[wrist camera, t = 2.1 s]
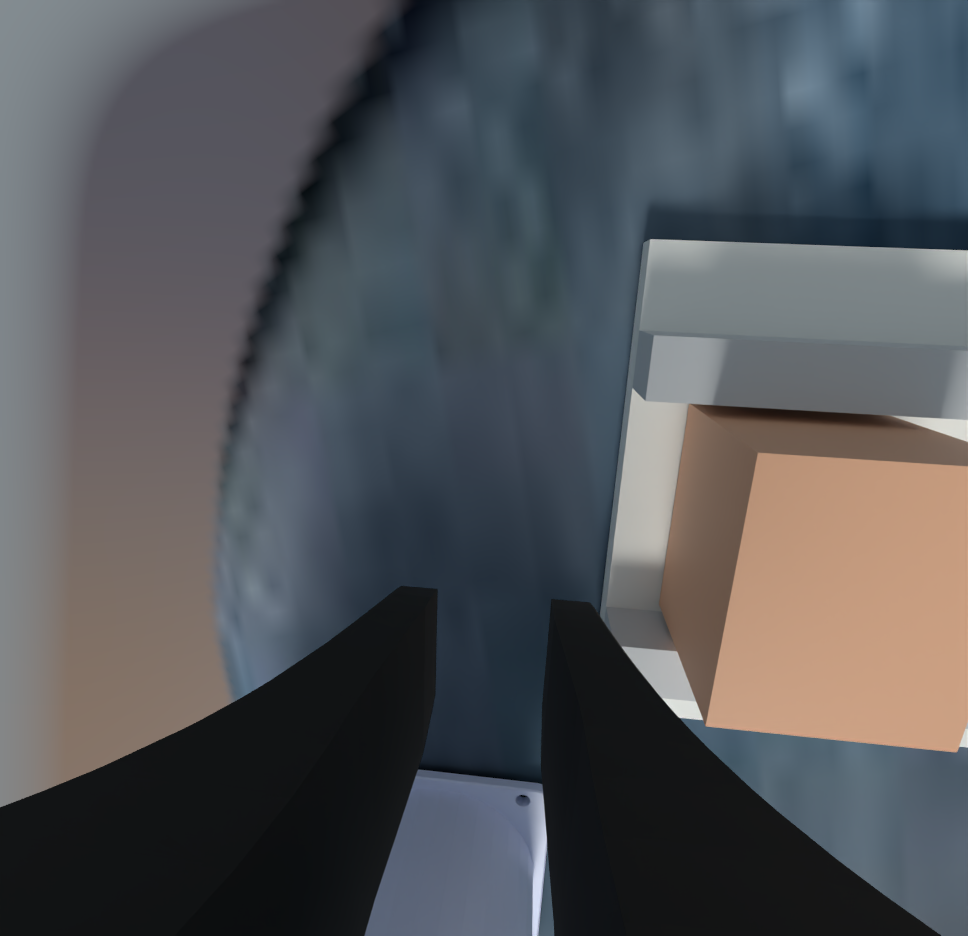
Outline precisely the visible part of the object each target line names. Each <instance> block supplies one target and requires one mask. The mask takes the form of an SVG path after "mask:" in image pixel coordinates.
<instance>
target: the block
mask: <svg viewBox="0 0 968 936" xmlns="http://www.w3.org/2000/svg"><path fill="white" fill-rule="evenodd" d="M659 605H660V608H661V611H662V613H663V616H664V619H665V621H666V624H667V626H668V629H669V632H670V634H671V637H672V640H673V642H674V645H675V647H676V650H677V653H678V655H679V658H680V661H681V663H682V666H683V668H684V671H685V674H686V676H687V679H688V682H689V684H690V687H691V689H692V692H693V695H694V697H695V700H696V703H697V705H698V708H699V710H700V713H701V716H702V718H703V721H704V724H705V726H708V727H717V728H727V729H736V730H746V731H756V732H765V733H775V734H784V735H794V736H804V737H813V738H823V739H832V740H842V741H852V742H861V743H871V744H880V745H890V746H900V747H909V748H919V749H929V750H938V751H948V752H957V751H958V748H959V745H960V743H961V740H962V737H963V734H964V731H965V728H966V726H967V723H968V442H966V441H963V440H960V439H958V438H955V437H952V436H949V435H946V434H943V433H940V432H937V431H934V430H931V429H928V428H925V427H922V426H919V425H916V424H913V423H910V422H908V421H905V420H902V419H899V418H896V417H893V416H889V415H872V414H855V413H838V412H821V411H804V410H787V409H770V408H753V407H736V406H719V405H702V404H689V408H688V415H687V422H686V428H685V435H684V441H683V448H682V455H681V461H680V468H679V475H678V481H677V488H676V494H675V501H674V508H673V514H672V521H671V528H670V534H669V541H668V547H667V554H666V561H665V567H664V574H663V581H662V587H661V594H660V600H659Z"/></svg>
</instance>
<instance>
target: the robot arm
mask: <svg viewBox="0 0 968 936" xmlns="http://www.w3.org/2000/svg"><path fill="white" fill-rule="evenodd" d="M436 636H437V589H430V588H419V587H408V586H400V587H399V588H398V589H396V590H395V591H393V592H392V593H391V594H390V595H388V596H387V597H386V598H385V599H383V600H382V601H381V602H379V603H378V604H377V605H376V606H374V607H373V608H372V609H371V610H369V611H368V612H367V613H365V614H364V615H363V616H362V617H360V618H359V619H358V620H356V621H355V622H354V623H352V624H351V625H350V626H348V627H347V628H346V629H344V630H343V631H342V632H340V633H339V634H338V635H336V636H335V637H334V638H332V639H331V640H330V641H328V642H327V643H326V644H324V645H323V646H321V647H320V648H318V649H317V650H315V651H314V652H312V653H311V654H309V655H308V656H306V657H305V658H303V659H302V660H300V661H299V662H297V663H296V664H295V665H293V666H292V667H290V668H289V669H287V670H286V671H284V672H283V673H281V674H280V675H278V676H277V677H275V678H274V679H272V680H270V681H269V682H267V683H266V684H264V685H262V686H261V687H259V688H257V689H256V690H254V691H252V692H251V693H249V694H247V695H245V696H244V697H242V698H240V699H239V700H237V701H235V702H233V703H231V704H229V705H228V706H226V707H224V708H222V709H220V710H218V711H217V712H215V713H213V714H211V715H209V716H207V717H206V718H204V719H202V720H200V721H198V722H196V723H194V724H192V725H190V726H188V727H186V728H184V729H182V730H180V731H178V732H176V733H174V734H171V735H169V736H167V737H165V738H163V739H161V740H159V741H156V742H155V743H152V744H150V745H148V746H146V747H144V748H141V749H139V750H137V751H135V752H133V753H131V754H129V755H126V756H124V757H122V758H120V759H118V760H116V761H114V762H111V763H109V764H107V765H105V766H103V767H100V768H98V769H96V770H93V771H91V772H89V773H86V774H84V775H81V776H79V777H76V778H74V779H72V780H69V781H67V782H64V783H62V784H59V785H57V786H54V787H52V788H49V789H47V790H45V791H42V792H40V793H37V794H34V795H32V796H29V797H26V798H24V799H21V800H19V801H16V802H13V803H11V804H8V805H6V806H3V807H0V936H538V932H539V922H540V912H541V902H542V892H543V882H544V872H545V862H546V852H547V847H548V859H549V871H550V883H551V895H552V907H553V919H554V936H941V935H940V934H938V933H937V932H935V931H934V930H932V929H931V928H930V927H928V926H927V925H925V924H924V923H923V922H921V921H920V920H918V919H917V918H916V917H914V916H913V915H911V914H910V913H909V912H907V911H906V910H904V909H903V908H902V907H900V906H899V905H897V904H896V903H894V902H893V901H892V900H890V899H889V898H887V897H886V896H885V895H883V894H882V893H881V892H879V891H878V890H877V889H875V888H874V887H873V886H871V885H870V884H869V883H867V882H866V881H865V880H863V879H862V878H861V877H859V876H858V875H857V874H855V873H854V872H853V871H851V870H850V869H849V868H847V867H846V866H845V865H843V864H842V863H841V862H839V861H838V860H837V859H836V858H834V857H833V856H832V855H831V854H829V853H828V852H827V851H826V850H824V849H823V848H822V847H821V846H819V845H818V844H817V843H816V842H815V841H813V840H812V839H811V838H810V837H808V836H807V835H806V834H805V833H803V832H802V831H801V830H800V829H799V828H797V827H796V826H795V825H794V824H792V823H791V822H790V821H789V820H787V819H786V818H785V817H784V816H783V815H781V814H780V813H779V812H778V811H776V810H775V809H774V808H773V807H772V806H771V805H770V804H768V803H767V802H766V801H765V800H764V799H763V798H761V797H760V796H759V795H758V794H757V793H756V792H755V791H753V790H752V789H751V788H750V787H749V786H748V785H747V784H746V783H745V782H744V781H742V780H741V779H740V778H739V777H738V776H737V775H736V774H735V773H734V772H733V771H732V770H731V769H730V768H729V767H728V766H727V765H725V764H724V763H723V762H722V761H721V760H720V759H719V758H718V757H717V756H716V755H715V754H714V753H713V752H712V751H711V750H709V749H708V748H707V747H706V746H705V745H704V743H703V742H702V741H701V740H700V739H699V738H698V737H697V736H696V735H695V734H694V733H693V732H692V731H691V730H690V729H689V728H688V727H687V726H686V725H685V724H684V723H683V722H682V720H681V719H680V718H679V717H678V716H677V715H676V714H675V713H674V712H673V711H672V709H671V708H670V707H669V706H668V705H667V704H666V703H665V701H664V700H663V699H662V698H661V697H660V695H659V694H658V693H657V692H656V691H655V690H654V688H653V687H652V686H651V684H650V683H649V682H648V681H647V679H646V678H645V677H644V676H643V674H642V673H641V672H640V671H639V669H638V668H637V667H636V666H635V664H634V663H633V662H632V660H631V659H630V658H629V656H628V655H627V654H626V652H625V651H624V650H623V648H622V647H621V646H620V644H619V643H618V641H617V640H616V639H615V637H614V636H613V634H612V633H611V632H610V630H609V629H608V627H607V626H606V624H605V623H604V621H603V620H602V618H601V617H600V615H599V614H598V612H597V611H596V609H595V608H594V607H593V606H592V605H591V603H589V602H578V601H567V600H555V599H552V600H551V611H550V623H549V634H548V645H547V657H546V668H545V680H544V691H543V702H542V737H541V773H542V784H539V783H532V782H524V781H515V780H506V779H498V778H489V777H480V776H471V775H463V774H454V773H445V772H437V771H428V770H419V769H418V768H419V764H420V761H421V758H422V755H423V752H424V747H425V742H426V737H427V733H428V728H429V723H430V718H431V713H432V708H433V703H434V698H435V684H436ZM519 795H525V796H527V797H520V796H519Z"/></svg>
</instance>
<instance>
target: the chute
mask: <svg viewBox="0 0 968 936" xmlns="http://www.w3.org/2000/svg"><path fill="white" fill-rule="evenodd" d="M689 404H702V405H719V406H736V407H753V408H770V409H787V410H804V411H821V412H838V413H855V414H872V415H889V416H893V417H896V418H899V419H902V420H905V421H908V422H910V423H913V424H916V425H919V426H922V427H925V428H928V429H931V430H934V431H937V432H940V433H943V434H946V435H949V436H952V437H955V438H958V439H960V440H963V441H966V442H968V251H967V250H939V249H911V248H884V247H856V246H828V245H800V244H772V243H745V242H717V241H689V240H661V239H650V240H648V241H646V242H644V243H643V251H642V259H641V268H640V276H639V285H638V294H637V302H636V311H635V319H634V328H633V336H632V345H631V353H630V362H629V370H628V379H627V388H626V396H625V405H624V413H623V422H622V430H621V439H620V447H619V456H618V464H617V473H616V482H615V490H614V499H613V507H612V516H611V524H610V533H609V541H608V550H607V558H606V567H605V575H604V584H603V593H602V601H601V610H600V617H601V618H602V620H603V621H604V623H605V624H606V626H607V627H608V629H609V630H610V632H611V633H612V634H613V636H614V637H615V639H616V640H617V641H618V643H619V644H620V646H621V647H622V648H623V650H624V651H625V652H626V654H627V655H628V656H629V658H630V659H631V660H632V662H633V663H634V664H635V666H636V667H637V668H638V669H639V671H640V672H641V673H642V674H643V676H644V677H645V678H646V679H647V681H648V682H649V683H650V684H651V686H652V687H653V688H654V690H655V691H656V692H657V693H658V694H659V695H660V697H661V698H662V699H663V700H664V701H665V703H666V704H667V705H668V706H669V707H670V708H671V709H672V711H673V712H674V713H675V714H676V715H677V716H678V717H679V718H688V719H698V720H703V718H702V716H701V713H700V710H699V708H698V705H697V703H696V700H695V697H694V695H693V692H692V689H691V687H690V684H689V682H688V679H687V676H686V674H685V671H684V668H683V666H682V663H681V661H680V658H679V655H678V653H677V650H676V647H675V645H674V642H673V640H672V637H671V634H670V632H669V629H668V626H667V624H666V621H665V619H664V616H663V613H662V611H661V608H660V605H659V600H660V594H661V587H662V581H663V574H664V567H665V561H666V554H667V547H668V541H669V534H670V528H671V521H672V514H673V508H674V501H675V494H676V488H677V481H678V475H679V468H680V461H681V455H682V448H683V441H684V435H685V428H686V422H687V415H688V408H689ZM959 747H968V723H967V726H966V728H965V731H964V734H963V737H962V740H961V743H960V745H959Z"/></svg>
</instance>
